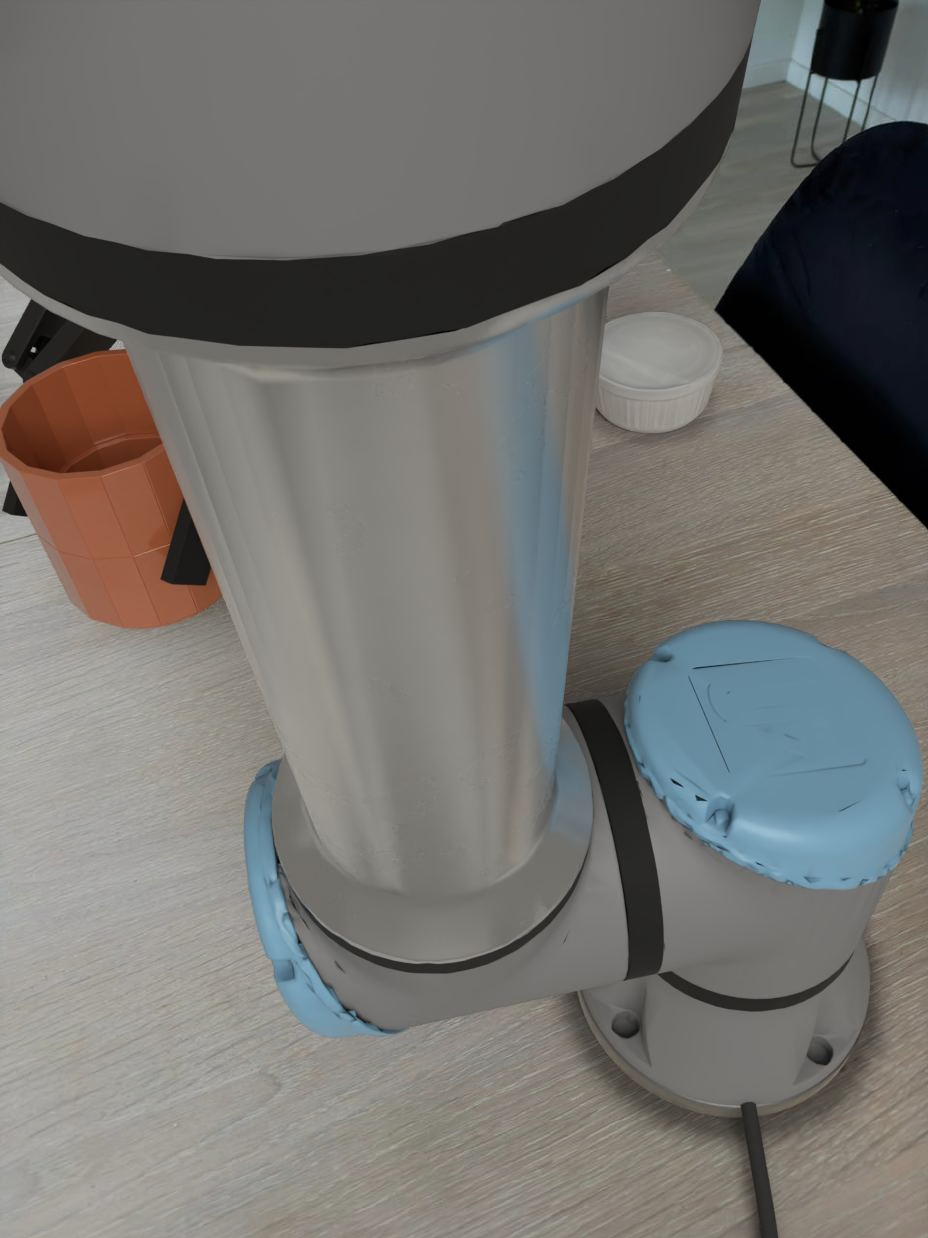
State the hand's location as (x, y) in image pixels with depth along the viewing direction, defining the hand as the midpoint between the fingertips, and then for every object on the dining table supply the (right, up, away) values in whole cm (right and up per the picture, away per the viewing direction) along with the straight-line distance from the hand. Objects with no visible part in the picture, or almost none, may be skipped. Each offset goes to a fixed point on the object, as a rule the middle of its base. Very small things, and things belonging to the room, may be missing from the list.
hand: (102, 547), depth 57 cm
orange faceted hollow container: (+2, -1, +5) cm, 5 cm away
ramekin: (+35, +15, +36) cm, 52 cm away
